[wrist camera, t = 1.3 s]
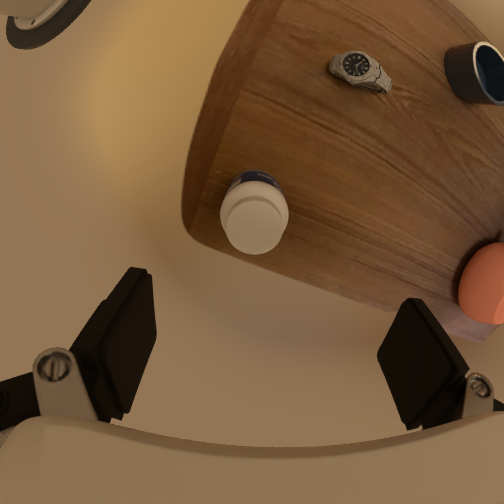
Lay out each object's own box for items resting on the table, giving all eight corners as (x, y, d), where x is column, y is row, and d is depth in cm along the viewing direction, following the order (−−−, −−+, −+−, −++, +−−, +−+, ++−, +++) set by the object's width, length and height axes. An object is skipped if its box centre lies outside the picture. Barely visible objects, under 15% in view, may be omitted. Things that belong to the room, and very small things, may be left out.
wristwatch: (330, 52, 21) (345, 39, 17) (384, 77, 22) (407, 71, 17) (320, 81, 22) (334, 73, 18) (375, 105, 23) (398, 103, 19)
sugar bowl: (438, 296, 33) (473, 341, 24) (483, 213, 28) (531, 244, 18) (475, 311, 35) (505, 348, 26) (514, 242, 29) (552, 271, 20)
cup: (444, 36, 18) (471, 29, 13) (485, 64, 18) (512, 62, 13) (442, 88, 21) (471, 87, 16) (482, 112, 22) (511, 116, 17)
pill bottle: (292, 188, 27) (309, 221, 19) (260, 229, 29) (263, 277, 21) (247, 158, 26) (244, 175, 17) (217, 200, 28) (200, 238, 19)
